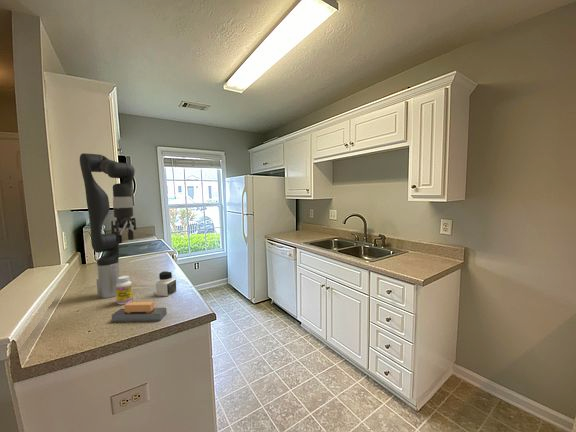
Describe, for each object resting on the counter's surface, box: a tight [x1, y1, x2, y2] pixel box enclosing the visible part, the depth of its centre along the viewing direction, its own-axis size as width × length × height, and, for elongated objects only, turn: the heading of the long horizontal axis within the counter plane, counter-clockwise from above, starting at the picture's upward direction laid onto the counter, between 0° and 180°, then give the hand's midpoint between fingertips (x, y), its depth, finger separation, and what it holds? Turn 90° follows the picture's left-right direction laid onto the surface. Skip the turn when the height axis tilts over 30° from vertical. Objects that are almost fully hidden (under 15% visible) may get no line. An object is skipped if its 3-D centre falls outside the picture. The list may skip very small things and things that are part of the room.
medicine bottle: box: [155, 270, 177, 297], centre depth 134 cm, size 7×7×12 cm
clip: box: [123, 301, 155, 314], centre depth 107 cm, size 11×3×6 cm, turn 91°
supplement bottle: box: [115, 275, 134, 305], centre depth 123 cm, size 7×7×13 cm
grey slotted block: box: [111, 307, 168, 323], centre depth 107 cm, size 20×6×3 cm, turn 91°
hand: (125, 241), depth 115 cm, fingers open, 8 cm apart
